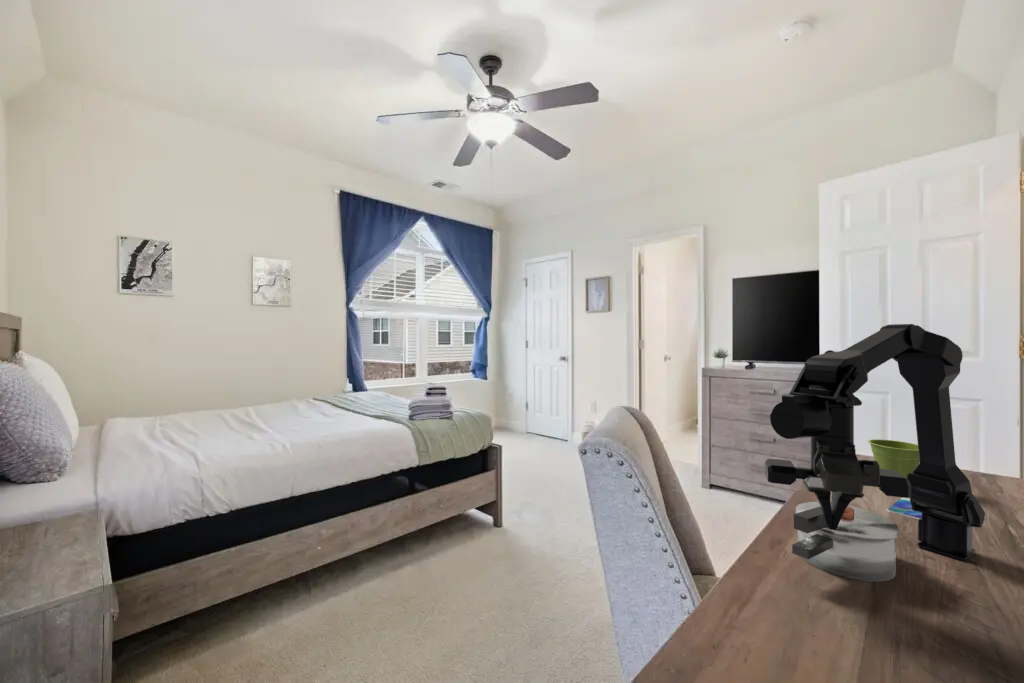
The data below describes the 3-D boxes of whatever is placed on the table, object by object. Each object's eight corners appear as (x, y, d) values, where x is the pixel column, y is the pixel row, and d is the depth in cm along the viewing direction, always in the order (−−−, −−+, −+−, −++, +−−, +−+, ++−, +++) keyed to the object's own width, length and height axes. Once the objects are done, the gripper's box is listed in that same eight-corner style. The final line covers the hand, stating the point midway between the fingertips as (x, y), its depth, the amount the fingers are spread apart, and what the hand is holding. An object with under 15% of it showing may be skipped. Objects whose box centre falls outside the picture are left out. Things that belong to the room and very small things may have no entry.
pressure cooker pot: (827, 533, 90) (827, 501, 90) (916, 563, 78) (916, 526, 78) (757, 565, 77) (757, 527, 77) (850, 606, 65) (851, 562, 65)
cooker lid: (823, 502, 89) (823, 485, 89) (915, 530, 76) (915, 510, 76) (758, 520, 80) (758, 501, 80) (850, 556, 67) (850, 533, 67)
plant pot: (910, 495, 112) (910, 451, 112) (858, 481, 123) (858, 441, 123) (935, 489, 117) (935, 446, 117) (882, 476, 128) (883, 437, 128)
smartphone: (941, 504, 105) (928, 520, 96) (941, 508, 105) (928, 524, 96) (901, 495, 111) (885, 509, 102) (901, 498, 111) (885, 513, 102)
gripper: (772, 439, 69) (772, 539, 69) (927, 450, 61) (927, 563, 61) (764, 426, 79) (764, 513, 79) (896, 434, 71) (897, 531, 71)
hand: (831, 529), depth 72 cm, fingers closed
